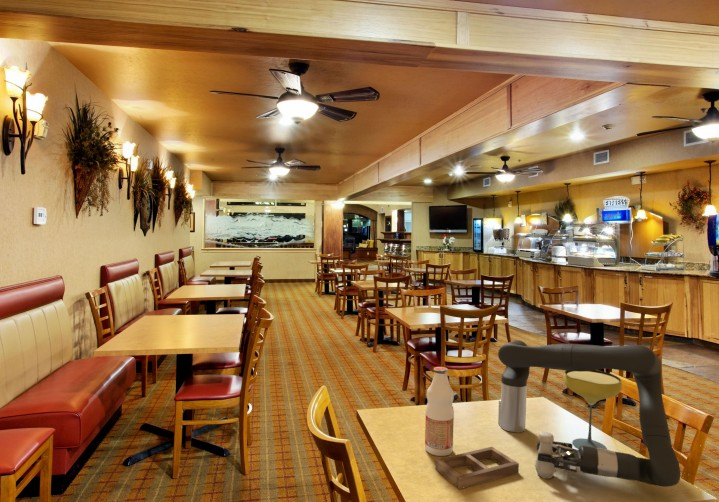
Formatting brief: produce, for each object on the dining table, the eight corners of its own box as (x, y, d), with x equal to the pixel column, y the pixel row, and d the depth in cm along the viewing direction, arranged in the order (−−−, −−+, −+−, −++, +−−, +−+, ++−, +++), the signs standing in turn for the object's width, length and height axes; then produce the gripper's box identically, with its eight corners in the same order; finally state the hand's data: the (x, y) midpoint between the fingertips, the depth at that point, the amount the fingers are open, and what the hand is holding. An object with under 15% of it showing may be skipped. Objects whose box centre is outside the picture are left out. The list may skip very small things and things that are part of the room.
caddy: (435, 469, 139) (435, 459, 139) (491, 455, 149) (491, 446, 149) (459, 489, 128) (459, 478, 128) (518, 473, 138) (518, 463, 138)
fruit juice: (433, 458, 146) (435, 374, 145) (419, 445, 154) (421, 365, 154) (458, 454, 149) (460, 371, 148) (443, 442, 158) (445, 363, 157)
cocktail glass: (549, 439, 162) (552, 370, 161) (586, 431, 169) (589, 366, 168) (592, 462, 145) (595, 387, 144) (631, 453, 152) (634, 381, 151)
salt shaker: (556, 481, 134) (558, 438, 133) (536, 478, 135) (538, 436, 134) (552, 471, 139) (554, 430, 139) (533, 468, 141) (534, 428, 140)
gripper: (594, 438, 139) (536, 429, 144) (602, 460, 125) (538, 449, 131) (593, 462, 139) (536, 452, 145) (601, 486, 125) (537, 474, 131)
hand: (537, 451), depth 138 cm, fingers open, 6 cm apart
